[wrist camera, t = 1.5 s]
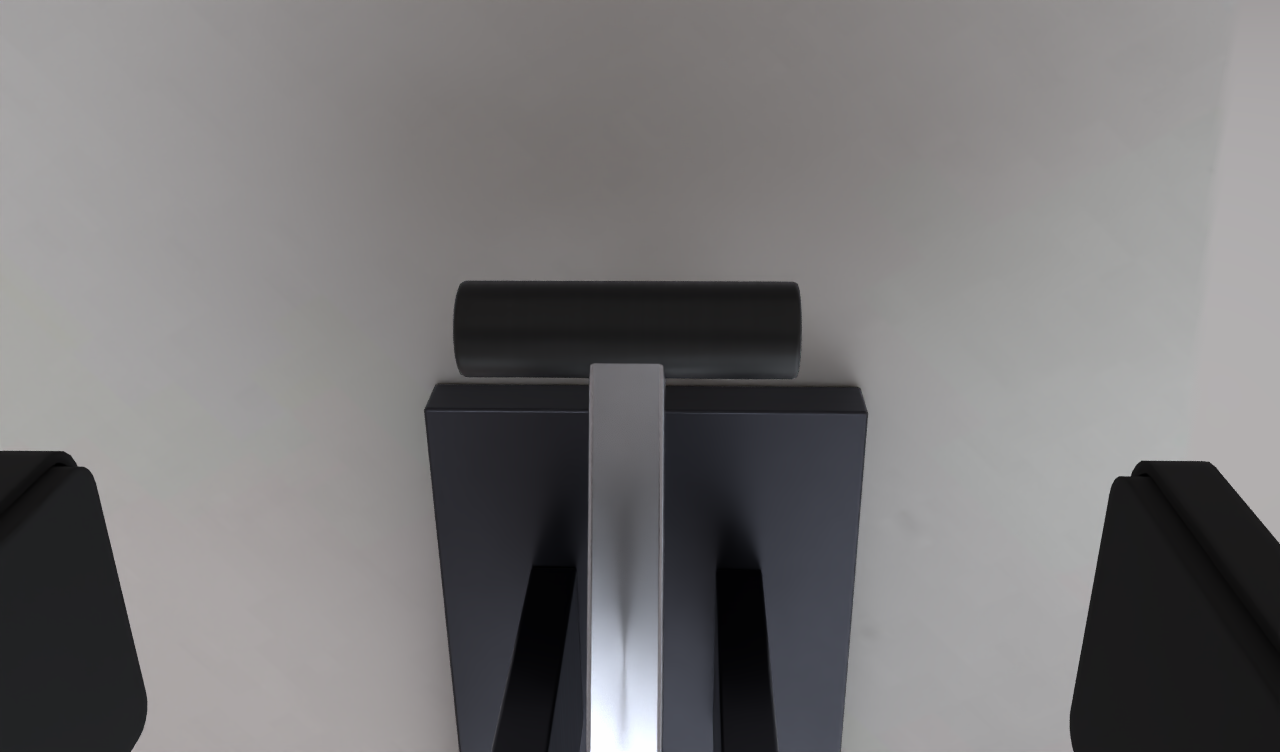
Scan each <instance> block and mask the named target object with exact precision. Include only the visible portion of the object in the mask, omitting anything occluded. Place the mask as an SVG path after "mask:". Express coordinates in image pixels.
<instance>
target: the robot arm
mask: <svg viewBox="0 0 1280 752" xmlns="http://www.w3.org/2000/svg"><path fill="white" fill-rule="evenodd" d="M146 715H147V696H146V691H145V686H144V682H143V678H142V674H141V670H140V666H139V661H138V657H137V653H136V649H135V645H134V640H133V636H132V632H131V628H130V624H129V620H128V615H127V611H126V607H125V603H124V599H123V594H122V590H121V586H120V582H119V578H118V574H117V569H116V565H115V561H114V557H113V553H112V549H111V544H110V540H109V536H108V532H107V528H106V523H105V519H104V515H103V511H102V507H101V503H100V498H99V494H98V490H97V486H96V482H95V480H94V477H93V475H92V473H91V472H90V471H89V470H88V469H87V468H85V467H77V464H76V462H75V461H74V460H73V458H72V457H71V455H69V454H67V453H65V452H64V451H0V752H131V750H132V749H133V747H134V746H135V744H136V742H137V741H138V739H139V737H140V735H141V733H142V731H143V728H144V725H145V721H146ZM1070 736H1071V742H1072V747H1073V751H1074V752H1280V544H1279V542H1278V541H1277V540H1276V539H1275V538H1274V536H1273V535H1272V534H1271V533H1270V532H1269V530H1268V529H1267V528H1266V527H1265V526H1264V524H1263V523H1262V522H1261V521H1260V520H1259V518H1258V517H1257V516H1256V515H1255V514H1254V512H1253V511H1252V510H1251V509H1250V508H1249V507H1248V506H1247V504H1246V503H1245V502H1244V501H1243V499H1242V498H1241V497H1240V496H1239V495H1238V494H1237V492H1236V491H1235V490H1234V489H1233V487H1232V486H1231V485H1230V484H1229V483H1228V481H1227V480H1226V479H1225V478H1224V477H1223V475H1222V474H1221V473H1220V472H1219V471H1218V470H1217V468H1216V467H1215V466H1213V465H1212V464H1211V463H1210V462H1205V461H1141V462H1139V463H1138V464H1137V465H1136V466H1135V468H1134V470H1133V472H1132V474H1131V477H1125V476H1119V477H1117V478H1116V479H1115V480H1114V482H1113V484H1112V487H1111V490H1110V494H1109V500H1108V505H1107V511H1106V516H1105V522H1104V527H1103V533H1102V539H1101V544H1100V550H1099V555H1098V561H1097V566H1096V572H1095V577H1094V583H1093V589H1092V594H1091V600H1090V605H1089V611H1088V616H1087V622H1086V627H1085V633H1084V638H1083V644H1082V650H1081V655H1080V661H1079V666H1078V672H1077V677H1076V683H1075V688H1074V694H1073V700H1072V705H1071V711H1070Z"/></svg>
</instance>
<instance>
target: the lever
mask: <svg viewBox="0 0 1280 752" xmlns="http://www.w3.org/2000/svg"><path fill="white" fill-rule="evenodd" d="M801 340H802V312H801V296H800V290H799V287H798V284H797V283H795V282H738V281H464V282H462V283H461V284H460V285H459V288H458V291H457V294H456V298H455V304H454V314H453V343H454V353H455V359H456V363H457V367H458V369H459V372H460V374H461V375H463V376H465V377H543V378H589V432H588V561H587V690H586V752H663V710H664V567H665V424H666V378H690V379H794V378H796V377H797V374H798V372H799V367H800V358H801Z"/></svg>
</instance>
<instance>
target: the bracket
mask: <svg viewBox="0 0 1280 752" xmlns="http://www.w3.org/2000/svg"><path fill="white" fill-rule="evenodd" d="M424 413H425V423H426V433H427V443H428V452H429V462H430V472H431V481H432V491H433V501H434V511H435V520H436V530H437V540H438V550H439V559H440V569H441V579H442V588H443V598H444V608H445V618H446V627H447V637H448V647H449V657H450V666H451V676H452V686H453V695H454V705H455V715H456V725H457V734H458V744H459V752H586V690H587V561H588V432H589V386H586V385H445V384H438V385H435V387H434V389H433V392H432V394H431V396H430V398H429V400H428V402H427V405H426V407H425V409H424ZM867 421H868V412H867V409H866V405H865V402H864V398H863V395H862V392H861V389H860V388H858V387H726V386H666V424H665V567H664V710H663V752H841V742H842V730H843V717H844V705H845V693H846V680H847V668H848V656H849V643H850V631H851V619H852V606H853V594H854V581H855V569H856V557H857V544H858V532H859V520H860V507H861V495H862V482H863V470H864V458H865V445H866V433H867Z"/></svg>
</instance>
